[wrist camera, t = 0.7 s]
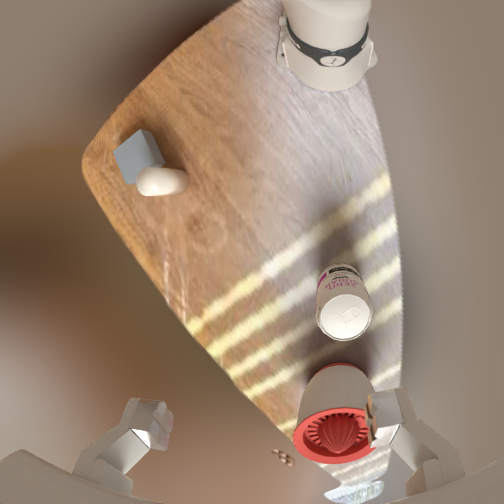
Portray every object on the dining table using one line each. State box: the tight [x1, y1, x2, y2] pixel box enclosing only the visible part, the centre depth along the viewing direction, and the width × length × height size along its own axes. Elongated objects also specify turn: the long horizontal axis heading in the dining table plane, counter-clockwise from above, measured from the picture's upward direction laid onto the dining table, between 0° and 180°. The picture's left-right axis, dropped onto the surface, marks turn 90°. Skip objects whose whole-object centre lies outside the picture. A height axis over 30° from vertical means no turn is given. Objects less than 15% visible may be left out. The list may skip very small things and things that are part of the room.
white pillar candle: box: [136, 167, 190, 196], centre depth 49 cm, size 5×5×11 cm
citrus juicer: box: [293, 362, 376, 464], centre depth 46 cm, size 16×17×20 cm
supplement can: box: [316, 263, 373, 341], centre depth 44 cm, size 8×8×15 cm
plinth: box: [113, 129, 166, 184], centre depth 53 cm, size 8×8×4 cm
